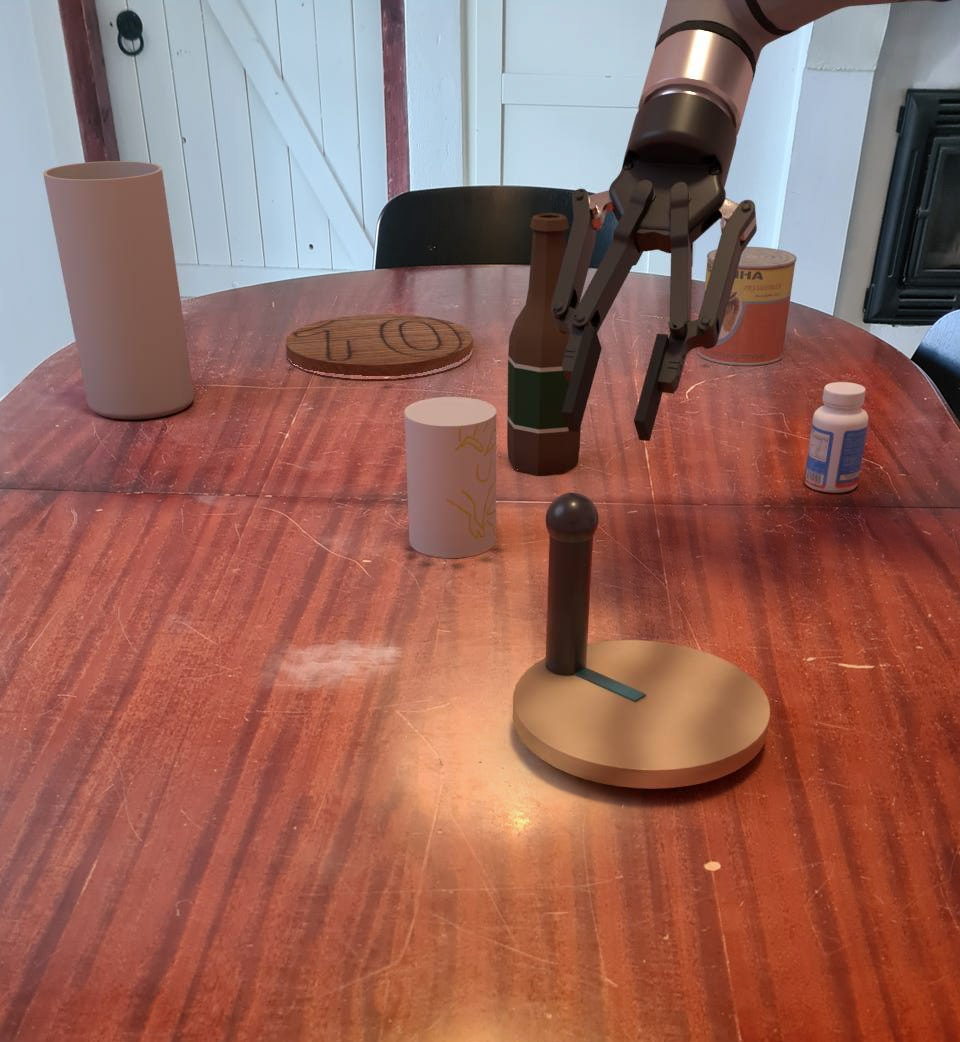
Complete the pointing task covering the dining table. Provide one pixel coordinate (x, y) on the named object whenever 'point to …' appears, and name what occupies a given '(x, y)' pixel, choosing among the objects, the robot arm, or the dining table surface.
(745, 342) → the canned food
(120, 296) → the cylinder vase
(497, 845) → the dining table surface
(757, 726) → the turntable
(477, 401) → the white cylinder
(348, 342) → the trivet
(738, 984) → the dining table surface
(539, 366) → the beer bottle
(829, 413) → the pill bottle
